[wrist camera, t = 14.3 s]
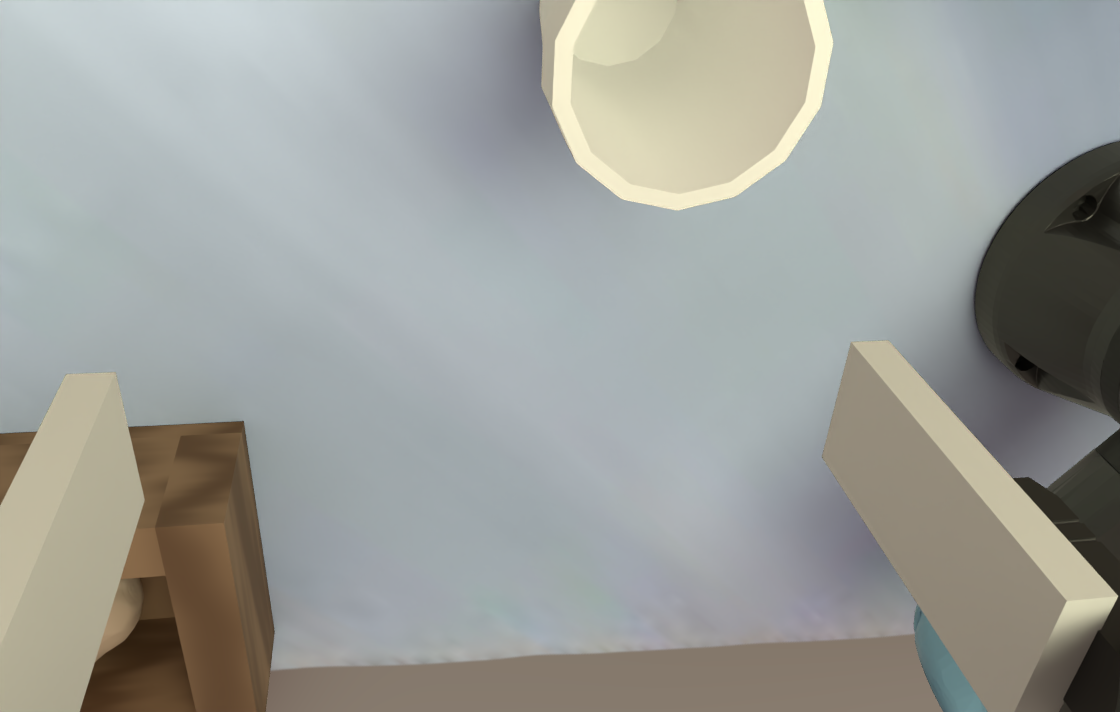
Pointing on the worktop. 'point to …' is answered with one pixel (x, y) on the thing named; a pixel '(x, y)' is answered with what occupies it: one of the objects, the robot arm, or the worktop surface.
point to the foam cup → (683, 90)
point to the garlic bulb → (122, 614)
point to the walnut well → (186, 577)
